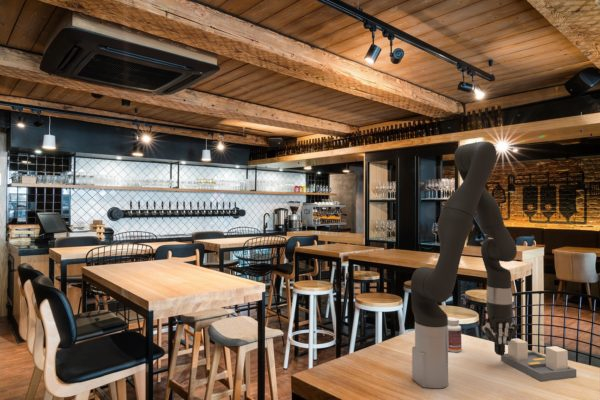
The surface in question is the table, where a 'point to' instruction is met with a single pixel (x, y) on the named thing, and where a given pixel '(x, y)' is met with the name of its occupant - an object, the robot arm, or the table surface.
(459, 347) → the pill bottle
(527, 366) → the switch board
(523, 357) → the tab left
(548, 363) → the tab right
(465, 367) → the table surface
